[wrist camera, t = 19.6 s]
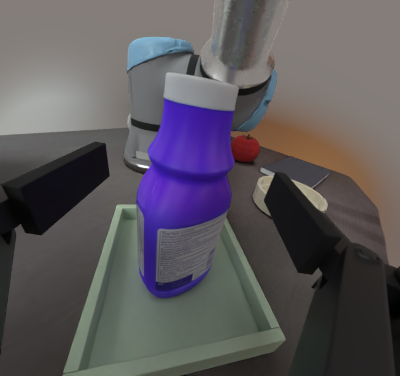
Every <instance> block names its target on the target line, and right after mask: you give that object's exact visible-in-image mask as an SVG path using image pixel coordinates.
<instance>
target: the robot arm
mask: <svg viewBox="0 0 400 376" xmlns="http://www.w3.org/2000/svg"><path fill="white" fill-rule="evenodd" d="M289 2H290V0H215V4H214V16H213V27H212V38H211V39H209V40H208V41H207V42H206V43H205V44H204V46H203V48H202V50H201V54H200V55H195V54H194V50H193V46H192V45H191V44H190V43H189V42H187V41H184V40H179V39H173V38H166V37H145V38H140V39H136V40H135V41H133V42H132V43H131V44H130V45H129V48H128V68H127V73H128V83H129V101H130V117H131V130H130V133H129V136H128V140H127V143H126V147H125V150H124V162H125V164H126V165H127V166H128V167H129V168H131V169H133V170H135V171H137V172H141V173H146V171H147V170H148V169H149V167H150V166H151V164H152V162H151V161H150V159H149V156H148V148H149V146H150V144H151V143H152V142H153V140H154V139H155V137H156V135H157V133H158V131H159V128H160V125H161V121H162V116H163V109H164V96H163V95H164V90H165V79H166V73H168V72H172V73H180V74H186V75H192V76H197V77H202V78H207V79H212V80H216V81H221V82H225V83H229V84H233V85H236V86H238V87H239V90H238V94H237V98H236V103H235V110H234V114H233V119H232V127H231V131H241V132H248V131H251V130H252V129H254V128H255V127H256V126H257V125H258V124H259V122H260V121H261V119H262V118H263V116H264V115H265V113H266V111H267V109H268V104H269V102H270V101H271V99H272V97H273V94H274V91H275V87H276V82H277V73H276V71H275V69H274V63H275V62H274V56H273V54H272V52H271V47H272V45H273V42H274V40H275V37H276V35H277V32H278V30H279V27H280V25H281V22H282V20H283V17H284V15H285V12H286V10H287V7H288V5H289ZM109 176H110V175H109V168H108V160H107V152H106V144H105V143H100V142H93V143H91V144H89V145H87V146H85V147H82V148H80V149H78V150H76V151H74V152H72V153H69V154H67V155H65V156H63V157H61V158H58V159H56V160H54V161H52V162H50V163H48V164H45V165H43V166H41V167H39V168H37V169H34V170H32V171H29V172H27V173H26V174H23V175H21V176H19V177H16V178H14V179H12V180H10V181H8V182H5V183H3V184H1V185H0V353H1V346H2V338H3V331H4V323H5V316H6V308H7V301H8V293H9V286H10V278H11V271H12V263H13V256H14V248H15V241H16V232H15V230H14V228H16V227H17V226H18V225H20V224H21V225H22V227H23V229H24V231H25V233H30V234H36V235H42V234H43V233H44V232H45V231H47V230H48V229H49V228H50V227H51V226H52V225H54V224H55V223H56V222H57V221H58V220H59V219H61V218H62V217H63V216H64V215H65V214H66V213H67V212H69V211H70V210H71V209H72V208H73V207H74V206H76V205H77V204H78V203H79V202H80V201H81V200H82V199H84V198H85V197H86V196H87V195H88V194H89V193H91V192H92V191H93V190H94V189H95V188H96V187H97V186H99V185H100V184H101V183H102V182H103V181H104V180H106V179H107V178H108V177H109ZM264 203H265V205H266V207H267V209H268V211H269V213H270V215H271V217H272V219H273V221H274V223H275V226H276V228H277V230H278V232H279V234H280V236H281V238H282V240H283V242H284V244H285V246H286V248H287V251H288V253H289V255H290V257H291V259H292V261H293V263H294V265H295V267H296V269H297V271H298V273H304V274H311V275H312V274H313V273H314V272H315V271H316V270H317V268H318V267H319V269H320V270H321V272H322V275H321V277H320V278H319V279H318V280H317V281H316V282H315V283H314V285H313V286H312V288H313V289H314V288H315V287H316V289H315V292H314V295H313V298H312V302H311V305H310V308H309V311H308V314H307V318H306V321H305V324H304V327H303V330H302V333H301V337H300V340H299V343H298V346H297V349H296V352H295V356H294V359H293V362H292V365H291V368H290V371H289V375H288V376H400V267H398V268H395V267H393V266H390V265H387V264H385V263H383V261H382V259H381V258H380V257H379V256H378V255H377V254H375V253H374V252H373V251H371V250H370V249H368V248H366V247H364V246H362V245H360V244H356V243H351V242H350V241H349V239H348V238H347V237H346V236H345V235H344V234H343V233H342V232H341V231H340V230H339V229H338V227H336V226H335V224H334V223H333V222H332V221H331V220H330V219H329V218H328V217H327V216H326V214H324V213H323V212H322V211H320V210H319V209H317V208H316V207H315V206H314V205H313V204H312V203H311V201H310V200H309V199H308V198H307V197H306V196H305V195H304V194H303V193H302V191H301V190H300V189H299V188H298V187H297V186H296V185H295V184H294V182H293V181H292V180H291V179H290V178H289V177H288V176H287V175H286V173H281V172H275V174H274V177H273V179H272V181H271V184H270V186H269V189H268V191H267V193H266V196H265V198H264Z"/></svg>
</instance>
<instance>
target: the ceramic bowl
mask: <svg viewBox="0 0 400 376" xmlns="http://www.w3.org/2000/svg"><path fill="white" fill-rule="evenodd" d="M273 177H274V176H263V177H261V178H259V179H258V182H257V185H256V187H255V190H254V193H253V200H254V202H255V203H256V205H257V206H258V207H259V208H260V209H261V210H262V211H263V212H265V213H266V214H267V215H269V216H271V215H270V213H269V211H268V209H267V207H266V205H265V203H264V198H265V196H266V193H267V191H268V189H269V186H270V184H271V181H272V179H273ZM291 180H292V179H291ZM292 181H293V182H294V184H295V185H296V186H297V187H298V188H299V189H300V190H301V191H302V193H303V194H304V195H305V196H306V197H307V198H308V199H309V200H310V201H311V203H312V204H313V205H314V206H315V207H316V208H317V209H319V210H320V211H322V212H323V213H324V212H325V211H326V209H327V207H328V204H327V202H326V200H325V199H324V198H323V197H322V196H321V194H319V193H318V192H316V191H315V190H314V189H312V188H310V187H308V186H306V185H305V184H302V183H300V182H297V181H295V180H292Z"/></svg>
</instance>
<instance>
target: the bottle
mask: <svg viewBox="0 0 400 376" xmlns="http://www.w3.org/2000/svg"><path fill="white" fill-rule="evenodd" d="M238 90H239V87H238V86H236V85H233V84H229V83H225V82H221V81H216V80H212V79H207V78H202V77H197V76H192V75H186V74H180V73H172V72H168V73H166V79H165V90H164V95H163V96H164V109H163V116H162V121H161V125H160V128H159V131H158V133H157V135H156V137H155V139H154V140H153V142H152V143H151V144H150V146H149V148H148V156H149V159H150V161H151V162H152V164H151V166H150V167H149V169H148V170H147V171H146V173H145V174H144V176H143V178H142V180H141V182H140V185H139V188H138V191H137V200H136V213H137V243H138V264H139V273H140V276H141V278H142V281H143V283H144V284H145V285H146V287H147V289H148V290H149V292H150V293H151V294H153V295H154V296H156V297H158V298H170V297H174V296H177V295H180V294H182V293H184V292H186V291H188V290H190V289H191V288H193V287H194V286H196V285H197V284H198V283H199V282H200V281H201V280H202V279H203V278H204V277H205V276H206V274H207V273H208V271H209V269H210V267H211V263H212V260H213V257H214V254H215V250H216V247H217V244H218V240H219V237H220V234H221V231H222V228H223V225H224V222H225V218H226V215H227V212H228V209H229V206H230V203H231V188H230V184H229V181H228V178H227V173H228V172H229V171H230V170H231V169H232V167H233V165H234V157H233V155H232V150H231V140H230V139H231V127H232V119H233V114H234V110H235V103H236V98H237V94H238Z"/></svg>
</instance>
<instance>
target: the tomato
mask: <svg viewBox="0 0 400 376" xmlns="http://www.w3.org/2000/svg"><path fill="white" fill-rule="evenodd" d="M231 150H232V155H233V157H234V159H236V160H237V161H240V162H250V161H252V160H254V159H255V158H256V157H257V156H258V154H259V152H260V146H259V143H258V141H257V140H256V139H255V138H253V137H249V135H248V136H243V135H242V136H238V137H236V138H235V139H234V140H233V141H232V142H231Z"/></svg>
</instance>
